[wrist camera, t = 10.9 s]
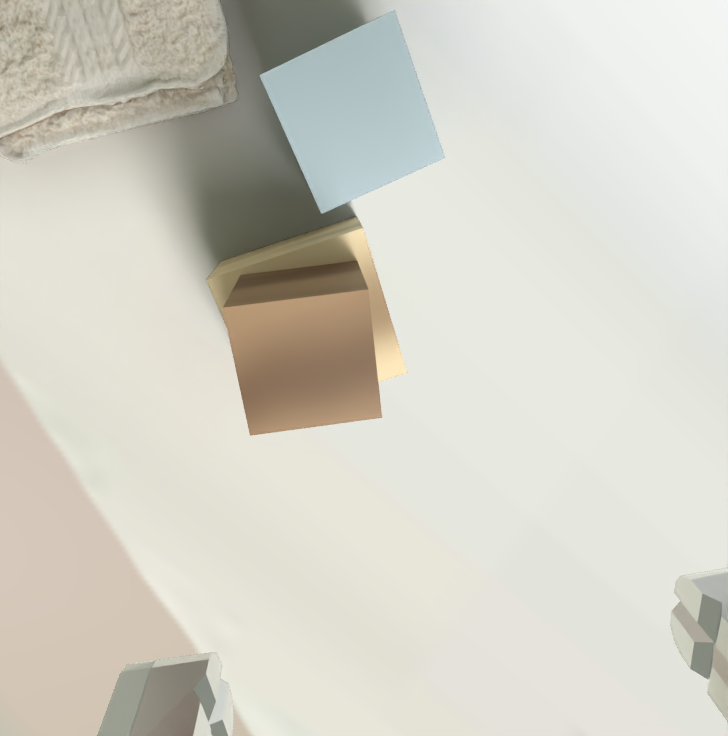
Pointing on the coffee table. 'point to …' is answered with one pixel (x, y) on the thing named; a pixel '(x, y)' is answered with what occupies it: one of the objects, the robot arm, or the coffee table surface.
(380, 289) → the oak base block
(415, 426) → the coffee table surface
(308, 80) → the grey-blue block
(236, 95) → the washcloth
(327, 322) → the walnut block
